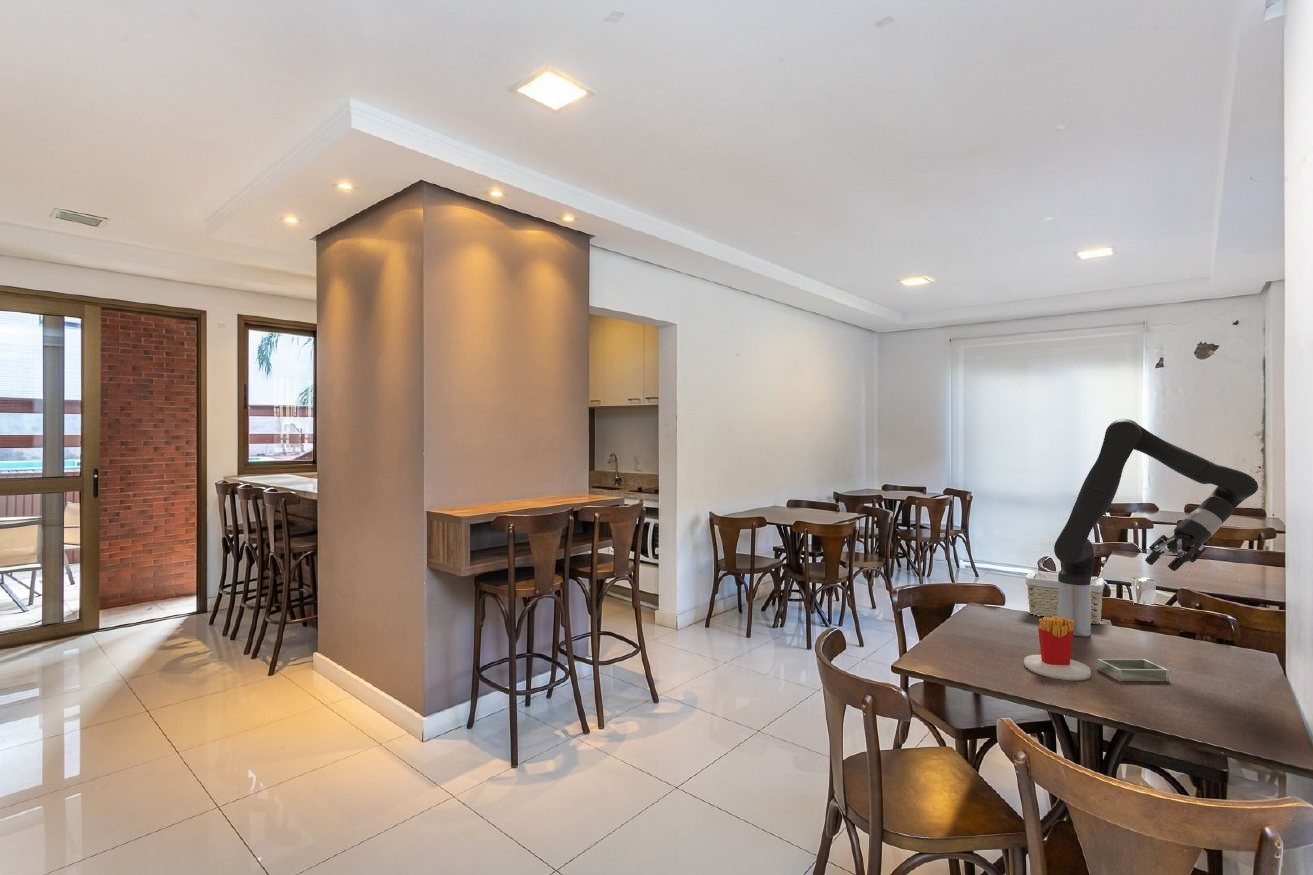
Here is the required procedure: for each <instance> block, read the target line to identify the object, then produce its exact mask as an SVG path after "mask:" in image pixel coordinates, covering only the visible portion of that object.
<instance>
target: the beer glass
mask: <svg viewBox="0 0 1313 875" xmlns="http://www.w3.org/2000/svg"><path fill="white" fill-rule="evenodd" d="M1155 582H1156V580H1155V579H1153V578H1149V577H1140V576H1139V577H1138V576H1135V577H1132V578H1131V590H1130V591H1131V598H1132V602H1134V603H1143V604H1154V605H1155V602H1156V592H1157V591H1156V583H1155ZM1134 603H1133V604H1134Z"/></svg>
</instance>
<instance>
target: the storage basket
mask: <svg viewBox="0 0 1313 875" xmlns="http://www.w3.org/2000/svg"><path fill="white" fill-rule="evenodd" d="M1058 574H1059V572H1049V571H1042V570H1031V571H1030V572H1028V574H1026V575H1025V584H1026V586H1027V594H1028V595H1027V599H1028V605H1029V606H1028V607H1029V610H1028V611H1029V614H1034V615H1033V616H1035V615H1040V616H1044V617H1048V618H1052V616H1055V617H1056V616H1057V601H1058ZM1104 588H1105V580H1104V578H1103V577H1096V576H1095V577H1094V576H1092V577H1091V624H1093V625H1099V624H1100V622H1101V620H1102V610H1103V609H1102V607H1103V594H1104ZM1040 616H1038V617H1039V618H1040Z"/></svg>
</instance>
